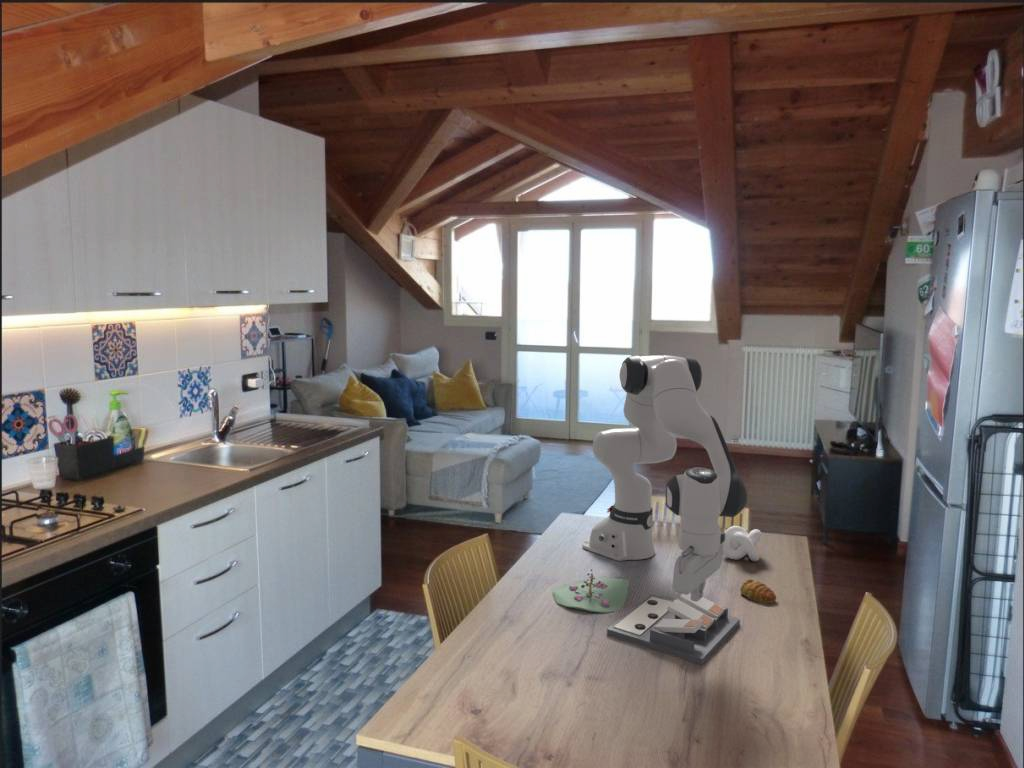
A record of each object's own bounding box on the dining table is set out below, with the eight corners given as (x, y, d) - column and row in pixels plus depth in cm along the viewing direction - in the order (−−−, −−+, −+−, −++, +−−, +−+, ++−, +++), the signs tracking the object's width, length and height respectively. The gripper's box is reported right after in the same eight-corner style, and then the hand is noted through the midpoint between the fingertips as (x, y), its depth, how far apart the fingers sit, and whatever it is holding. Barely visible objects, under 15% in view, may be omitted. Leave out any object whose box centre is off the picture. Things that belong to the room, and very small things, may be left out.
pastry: (782, 601, 206) (782, 587, 206) (765, 607, 202) (766, 594, 202) (753, 588, 214) (753, 575, 213) (736, 595, 210) (737, 581, 209)
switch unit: (606, 634, 187) (607, 619, 186) (650, 599, 206) (651, 585, 206) (702, 665, 173) (702, 648, 172) (739, 624, 192) (740, 609, 192)
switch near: (655, 631, 182) (653, 626, 182) (664, 623, 186) (663, 618, 186) (694, 632, 176) (693, 627, 176) (703, 624, 180) (702, 619, 180)
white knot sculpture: (771, 564, 230) (773, 535, 229) (733, 567, 228) (734, 537, 227) (754, 550, 241) (755, 523, 240) (717, 552, 240) (718, 525, 238)
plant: (581, 571, 226) (581, 542, 224) (648, 587, 215) (649, 556, 214) (539, 604, 205) (539, 571, 203) (611, 623, 194) (612, 589, 193)
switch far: (678, 600, 193) (680, 595, 193) (687, 593, 197) (688, 588, 197) (715, 620, 188) (717, 615, 187) (723, 612, 192) (725, 608, 191)
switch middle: (666, 610, 187) (668, 605, 187) (675, 602, 191) (677, 598, 191) (704, 631, 182) (706, 626, 182) (712, 623, 186) (714, 618, 186)
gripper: (694, 557, 165) (691, 619, 167) (728, 531, 181) (726, 587, 183) (666, 551, 169) (664, 611, 171) (702, 526, 185) (700, 581, 187)
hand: (696, 599), depth 177 cm, fingers closed
